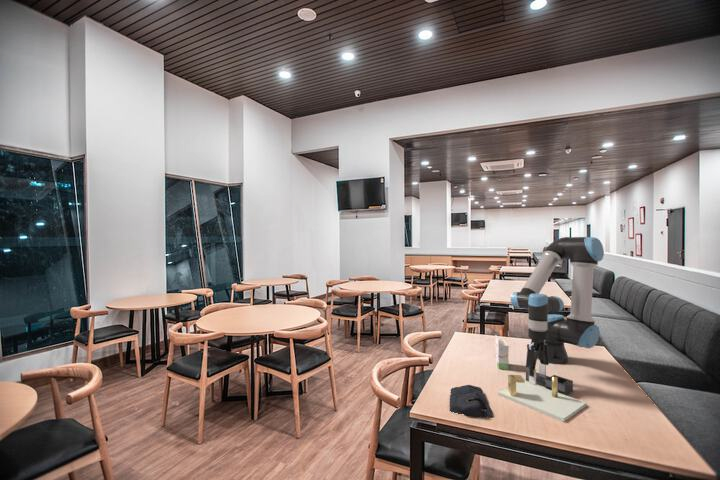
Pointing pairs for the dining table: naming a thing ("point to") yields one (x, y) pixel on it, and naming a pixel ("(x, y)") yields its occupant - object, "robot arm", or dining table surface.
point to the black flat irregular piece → (469, 401)
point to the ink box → (501, 354)
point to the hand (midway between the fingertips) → (537, 381)
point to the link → (563, 384)
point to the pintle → (554, 386)
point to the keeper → (514, 383)
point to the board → (544, 401)
